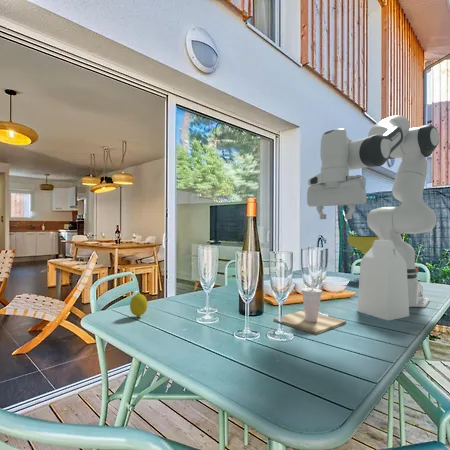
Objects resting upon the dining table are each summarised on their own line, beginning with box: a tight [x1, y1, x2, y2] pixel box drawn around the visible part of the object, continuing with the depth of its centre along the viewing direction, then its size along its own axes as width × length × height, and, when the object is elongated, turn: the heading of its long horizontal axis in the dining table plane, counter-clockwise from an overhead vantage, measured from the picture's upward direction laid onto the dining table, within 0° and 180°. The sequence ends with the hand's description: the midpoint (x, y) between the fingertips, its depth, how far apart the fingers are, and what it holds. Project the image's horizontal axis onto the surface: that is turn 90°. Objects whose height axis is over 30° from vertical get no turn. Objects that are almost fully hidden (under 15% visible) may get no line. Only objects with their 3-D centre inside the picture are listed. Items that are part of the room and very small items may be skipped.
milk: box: [356, 240, 410, 321], centre depth 109 cm, size 12×12×26 cm
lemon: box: [129, 292, 148, 318], centre depth 102 cm, size 6×6×8 cm
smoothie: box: [301, 276, 323, 322], centre depth 98 cm, size 6×6×14 cm
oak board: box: [273, 309, 347, 336], centre depth 98 cm, size 16×16×1 cm
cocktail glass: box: [347, 235, 380, 282], centre depth 174 cm, size 18×18×25 cm
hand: (335, 219), depth 103 cm, fingers open, 8 cm apart
